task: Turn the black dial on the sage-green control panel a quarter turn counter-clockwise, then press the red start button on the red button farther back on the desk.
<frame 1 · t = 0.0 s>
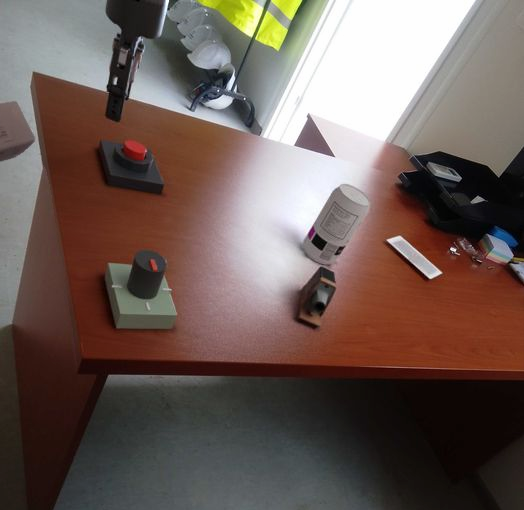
hand: (117, 108, 70), 15 cm above the table, tool pointing down, fingers open, 8 cm apart
supplement can: (317, 254, 99), on the table
start button: (134, 150, 86), point 4 cm above the table, slide at 0.1 cm
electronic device: (307, 311, 84), on the table
dial panel: (137, 303, 67), on the table
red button: (129, 171, 89), on the table
dial: (147, 274, 63), point 6 cm above the table, hinge at 0.0°
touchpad: (411, 260, 117), on the table
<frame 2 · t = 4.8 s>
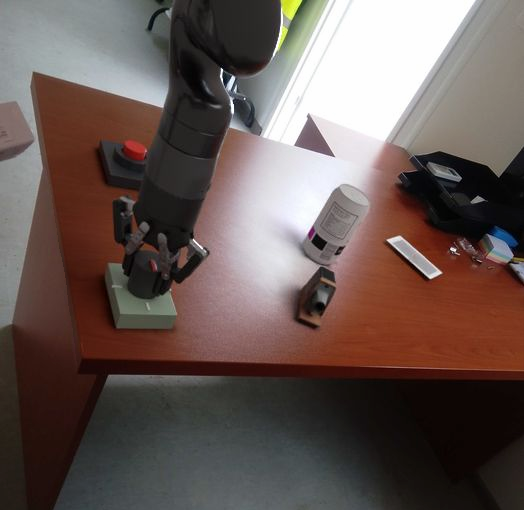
hand: (144, 283, 64), 4 cm above the table, tool pointing down, fingers closed on dial, 4 cm apart
dial: (147, 274, 63), point 6 cm above the table, hinge at 0.2°, touching gripper
everything else where it was.
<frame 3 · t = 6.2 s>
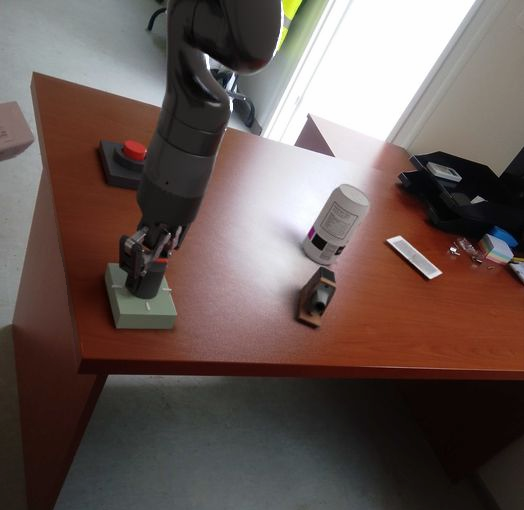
hand: (143, 282, 64), 4 cm above the table, tool pointing down, fingers closed on dial, 4 cm apart
dial: (147, 274, 63), point 6 cm above the table, hinge at 93.0°, touching gripper
everything else where it was.
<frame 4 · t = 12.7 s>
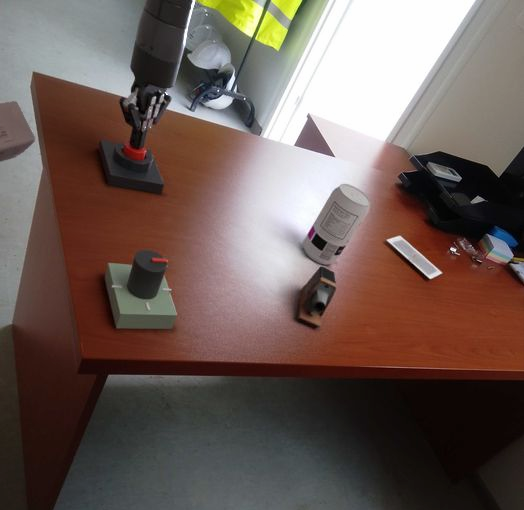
hand: (136, 146, 85), 5 cm above the table, tool pointing down, fingers closed
start button: (134, 150, 86), point 4 cm above the table, slide at 0.1 cm, touching gripper
dial: (147, 274, 63), point 6 cm above the table, hinge at 93.1°
everything else where it was.
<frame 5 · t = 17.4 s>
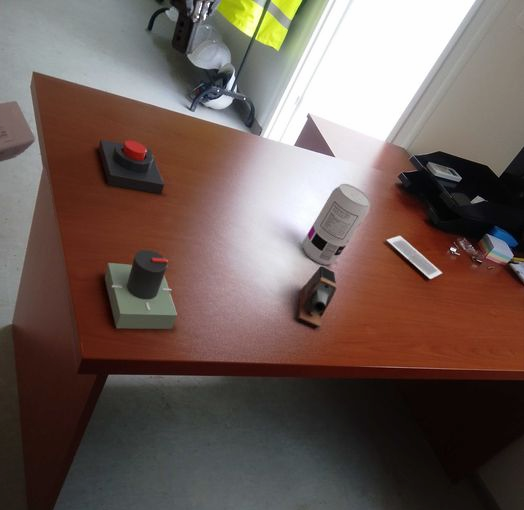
hand: (181, 50, 58), 29 cm above the table, tool pointing down, fingers closed
start button: (134, 150, 86), point 4 cm above the table, slide at 0.1 cm
everything else where it was.
at the end: dial at +93° (first picture: +0°); start button pushed in 1.0 cm at the most during the clip, back to where it started at the end; start button slide at 0.1 cm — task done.
